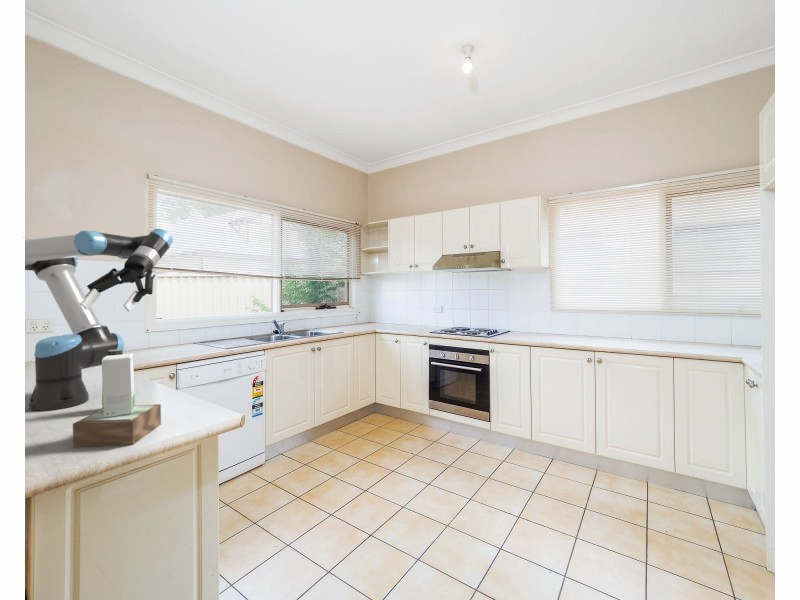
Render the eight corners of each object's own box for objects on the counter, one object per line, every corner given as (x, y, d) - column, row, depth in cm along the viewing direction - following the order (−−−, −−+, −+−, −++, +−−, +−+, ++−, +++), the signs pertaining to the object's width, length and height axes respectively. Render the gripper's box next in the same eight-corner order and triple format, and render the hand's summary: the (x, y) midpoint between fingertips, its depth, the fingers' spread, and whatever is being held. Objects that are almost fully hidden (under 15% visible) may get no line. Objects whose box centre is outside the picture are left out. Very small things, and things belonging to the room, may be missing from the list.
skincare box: (132, 414, 98) (131, 357, 98) (101, 418, 95) (100, 359, 94) (135, 405, 106) (134, 352, 105) (106, 409, 102) (105, 354, 102)
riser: (109, 426, 106) (109, 404, 106) (160, 424, 108) (160, 403, 108) (73, 447, 92) (72, 422, 92) (133, 444, 94) (132, 420, 94)
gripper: (181, 271, 129) (150, 317, 114) (113, 268, 129) (74, 313, 115) (172, 255, 123) (138, 301, 109) (100, 252, 124) (57, 297, 109)
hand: (105, 307), depth 112 cm, fingers open, 13 cm apart
